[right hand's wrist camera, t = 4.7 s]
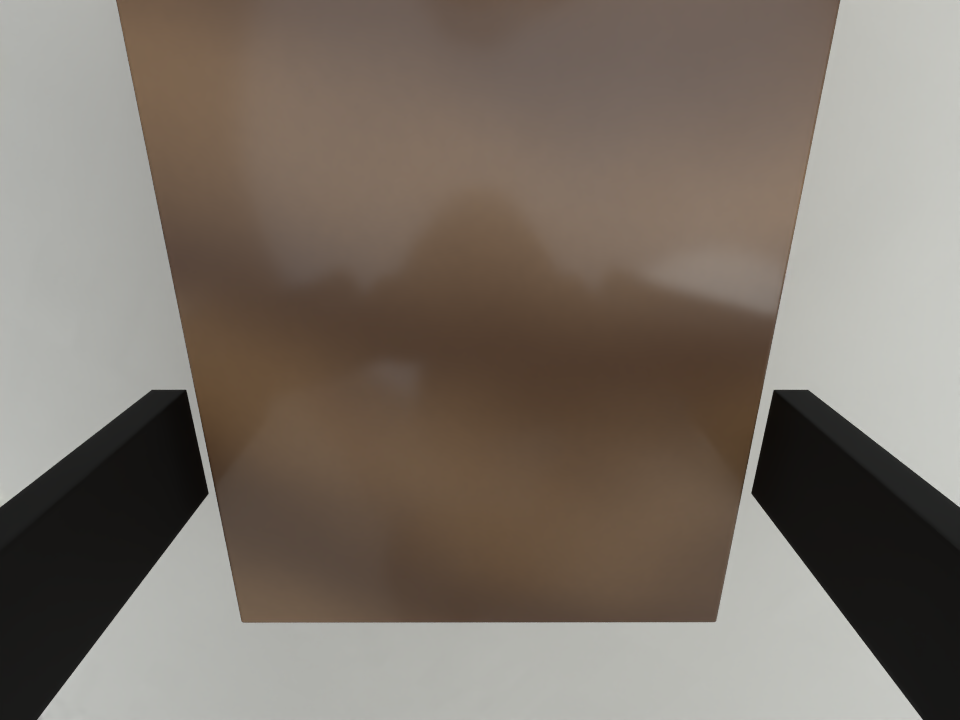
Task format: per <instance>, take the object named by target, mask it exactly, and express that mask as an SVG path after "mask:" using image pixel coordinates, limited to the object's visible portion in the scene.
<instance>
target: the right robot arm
mask: <svg viewBox="0 0 960 720" xmlns="http://www.w3.org/2000/svg"><path fill="white" fill-rule="evenodd" d="M208 494H209V493H208V488H207V484H206V479H205V474H204V470H203V465H202V460H201V456H200V451H199V447H198V442H197V437H196V433H195V428H194V424H193V419H192V414H191V410H190V405H189V400H188V396H187V391H186V390H151V391H150V392H149V393H147V394H146V395H145V396H143V397H142V398H141V399H140V400H138V401H137V402H136V403H134V404H133V405H132V406H131V407H129V408H128V409H127V410H125V411H124V412H123V413H122V414H120V415H119V416H118V417H116V418H115V419H114V420H113V421H111V422H110V423H109V424H107V425H106V426H105V427H103V428H102V429H101V430H100V431H98V432H97V433H96V434H94V435H93V436H92V437H91V438H89V439H88V440H87V441H85V442H84V443H83V444H82V445H80V446H79V447H78V448H76V449H75V450H74V451H73V452H71V453H70V454H69V455H67V456H66V457H65V458H63V459H62V460H61V461H60V462H58V463H57V464H56V465H54V466H53V467H52V468H51V469H49V470H48V471H47V472H45V473H44V474H43V475H42V476H40V477H39V478H38V479H36V480H35V481H34V482H33V483H31V484H30V485H29V486H27V487H26V488H25V489H23V490H22V491H21V492H20V493H18V494H17V495H16V496H14V497H13V498H12V499H11V500H9V501H8V502H7V503H5V504H4V505H3V506H2V507H0V720H37V719H38V718H39V716H40V715H41V714H42V712H43V711H44V710H45V708H46V707H47V706H48V705H49V703H50V702H51V701H52V699H53V698H54V697H55V695H56V694H57V693H58V691H59V690H60V689H61V687H62V686H63V685H64V683H65V682H66V681H67V679H68V678H69V677H70V676H71V674H72V673H73V672H74V670H75V669H76V668H77V666H78V665H79V664H80V662H81V661H82V660H83V658H84V657H85V656H86V654H87V653H88V652H89V650H90V649H91V648H92V647H93V645H94V644H95V643H96V641H97V640H98V639H99V637H100V636H101V635H102V633H103V632H104V631H105V629H106V628H107V627H108V625H109V624H110V623H111V621H112V620H113V619H114V618H115V616H116V615H117V614H118V612H119V611H120V610H121V608H122V607H123V606H124V604H125V603H126V602H127V600H128V599H129V598H130V596H131V595H132V594H133V592H134V591H135V590H136V589H137V587H138V586H139V585H140V583H141V582H142V581H143V579H144V578H145V577H146V575H147V574H148V573H149V571H150V570H151V569H152V567H153V566H154V565H155V563H156V562H157V561H158V560H159V558H160V557H161V556H162V554H163V553H164V552H165V550H166V549H167V548H168V546H169V545H170V544H171V542H172V541H173V540H174V538H175V537H176V536H177V534H178V533H179V532H180V531H181V529H182V528H183V527H184V525H185V524H186V523H187V521H188V520H189V519H190V517H191V516H192V515H193V513H194V512H195V511H196V509H197V508H198V507H199V505H200V504H201V503H202V502H203V500H204V499H205V498H206V496H207V495H208ZM751 494H752V495H753V496H754V498H755V499H756V500H757V502H758V503H759V504H760V505H761V507H762V508H763V509H764V511H765V512H766V513H767V515H768V516H769V517H770V519H771V520H772V521H773V523H774V524H775V525H776V527H777V528H778V529H779V531H780V532H781V533H782V534H783V536H784V537H785V538H786V540H787V541H788V542H789V544H790V545H791V546H792V548H793V549H794V550H795V552H796V553H797V554H798V556H799V557H800V558H801V560H802V561H803V562H804V563H805V565H806V566H807V567H808V569H809V570H810V571H811V573H812V574H813V575H814V577H815V578H816V579H817V581H818V582H819V583H820V585H821V586H822V587H823V589H824V590H825V591H826V592H827V594H828V595H829V596H830V598H831V599H832V600H833V602H834V603H835V604H836V606H837V607H838V608H839V610H840V611H841V612H842V614H843V615H844V616H845V618H846V619H847V620H848V621H849V623H850V624H851V625H852V627H853V628H854V629H855V631H856V632H857V633H858V635H859V636H860V637H861V639H862V640H863V641H864V643H865V644H866V645H867V647H868V648H869V649H870V650H871V652H872V653H873V654H874V656H875V657H876V658H877V660H878V661H879V662H880V664H881V665H882V666H883V668H884V669H885V670H886V672H887V673H888V674H889V676H890V677H891V678H892V679H893V681H894V682H895V683H896V685H897V686H898V687H899V689H900V690H901V691H902V693H903V694H904V695H905V697H906V698H907V699H908V701H909V702H910V703H911V705H912V706H913V707H914V708H915V710H916V711H917V712H918V714H919V715H920V716H921V718H922V719H923V720H960V507H958V506H957V505H956V504H955V503H953V502H952V501H951V500H949V499H948V498H947V497H946V496H944V495H943V494H942V493H940V492H939V491H938V490H937V489H935V488H934V487H933V486H931V485H930V484H929V483H927V482H926V481H925V480H924V479H922V478H921V477H920V476H918V475H917V474H916V473H915V472H913V471H912V470H911V469H909V468H908V467H907V466H906V465H904V464H903V463H902V462H900V461H899V460H898V459H897V458H895V457H894V456H893V455H891V454H890V453H889V452H887V451H886V450H885V449H884V448H882V447H881V446H880V445H878V444H877V443H876V442H875V441H873V440H872V439H871V438H869V437H868V436H867V435H866V434H864V433H863V432H862V431H860V430H859V429H858V428H857V427H855V426H854V425H853V424H851V423H850V422H849V421H847V420H846V419H845V418H844V417H842V416H841V415H840V414H838V413H837V412H836V411H835V410H833V409H832V408H831V407H829V406H828V405H827V404H826V403H824V402H823V401H822V400H820V399H819V398H818V397H817V396H815V395H814V394H813V393H811V392H810V391H809V390H774V391H773V396H772V400H771V405H770V410H769V414H768V419H767V424H766V428H765V433H764V437H763V442H762V447H761V451H760V456H759V460H758V465H757V470H756V474H755V479H754V484H753V488H752V493H751Z"/></svg>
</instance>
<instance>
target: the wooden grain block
mask: <svg viewBox="0 0 960 720" xmlns="http://www.w3.org/2000/svg"><path fill="white" fill-rule="evenodd" d="M116 1H117V6H118V11H119V16H120V21H121V26H122V31H123V36H124V41H125V46H126V51H127V56H128V61H129V66H130V71H131V76H132V81H133V86H134V90H135V95H136V100H137V105H138V110H139V115H140V120H141V125H142V130H143V135H144V140H145V145H146V150H147V155H148V160H149V165H150V170H151V175H152V180H153V185H154V190H155V194H156V199H157V204H158V209H159V214H160V219H161V224H162V229H163V234H164V239H165V244H166V249H167V254H168V259H169V264H170V269H171V274H172V279H173V284H174V289H175V294H176V298H177V303H178V308H179V313H180V318H181V323H182V328H183V333H184V338H185V343H186V348H187V353H188V358H189V363H190V368H191V373H192V378H193V383H194V388H195V393H196V398H197V402H198V407H199V412H200V417H201V422H202V427H203V432H204V437H205V442H206V447H207V452H208V457H209V462H210V467H211V472H212V477H213V482H214V487H215V492H216V497H217V502H218V506H219V511H220V516H221V521H222V526H223V531H224V536H225V541H226V546H227V551H228V556H229V561H230V566H231V571H232V576H233V581H234V586H235V591H236V596H237V601H238V606H239V610H240V615H241V620H242V622H244V623H271V622H716V619H717V614H718V609H719V604H720V599H721V594H722V589H723V584H724V579H725V574H726V569H727V564H728V559H729V554H730V549H731V544H732V539H733V534H734V529H735V524H736V519H737V514H738V509H739V504H740V499H741V494H742V489H743V484H744V479H745V474H746V469H747V464H748V459H749V454H750V449H751V444H752V439H753V434H754V429H755V424H756V419H757V414H758V409H759V404H760V399H761V394H762V389H763V384H764V379H765V374H766V369H767V364H768V359H769V354H770V349H771V344H772V339H773V334H774V329H775V324H776V319H777V314H778V309H779V304H780V299H781V294H782V289H783V284H784V279H785V274H786V269H787V264H788V259H789V254H790V249H791V244H792V239H793V234H794V229H795V224H796V219H797V214H798V209H799V204H800V199H801V194H802V189H803V184H804V179H805V174H806V169H807V164H808V159H809V154H810V149H811V144H812V139H813V134H814V129H815V124H816V119H817V114H818V109H819V104H820V99H821V94H822V89H823V84H824V79H825V74H826V69H827V64H828V59H829V54H830V49H831V44H832V39H833V34H834V29H835V24H836V19H837V14H838V9H839V4H840V0H116Z"/></svg>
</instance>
